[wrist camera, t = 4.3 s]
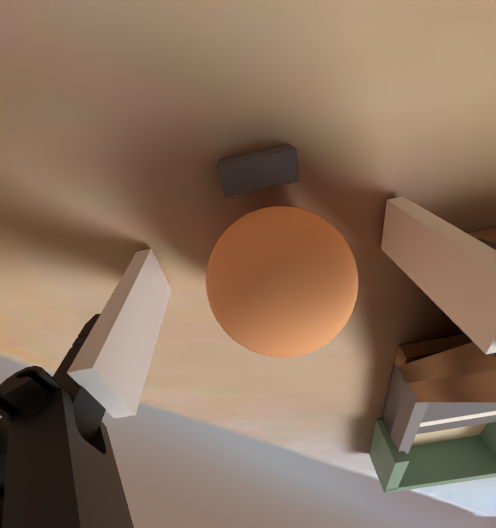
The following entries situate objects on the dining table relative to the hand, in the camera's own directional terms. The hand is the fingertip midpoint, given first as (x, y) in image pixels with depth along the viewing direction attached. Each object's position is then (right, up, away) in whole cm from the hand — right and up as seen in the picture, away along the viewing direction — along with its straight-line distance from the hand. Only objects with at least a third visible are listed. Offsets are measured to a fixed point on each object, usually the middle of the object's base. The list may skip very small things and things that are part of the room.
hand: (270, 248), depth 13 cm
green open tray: (+19, -18, +14) cm, 30 cm away
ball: (0, -1, -2) cm, 3 cm away
